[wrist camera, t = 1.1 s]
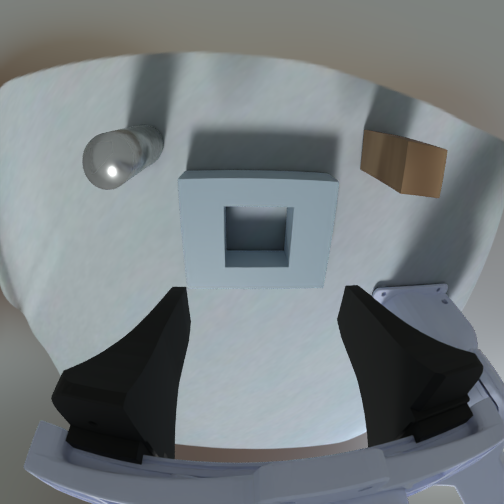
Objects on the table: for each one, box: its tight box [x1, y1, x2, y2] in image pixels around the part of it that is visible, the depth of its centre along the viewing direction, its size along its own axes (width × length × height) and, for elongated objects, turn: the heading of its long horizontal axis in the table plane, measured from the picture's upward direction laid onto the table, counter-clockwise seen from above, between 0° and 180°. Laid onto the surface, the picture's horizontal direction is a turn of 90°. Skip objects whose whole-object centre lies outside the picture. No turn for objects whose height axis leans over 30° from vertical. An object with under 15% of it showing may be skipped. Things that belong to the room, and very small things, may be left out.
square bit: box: [360, 130, 447, 198], centre depth 16 cm, size 3×3×6 cm
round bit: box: [83, 125, 163, 190], centre depth 15 cm, size 3×3×6 cm
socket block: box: [178, 170, 339, 289], centre depth 20 cm, size 10×8×2 cm
